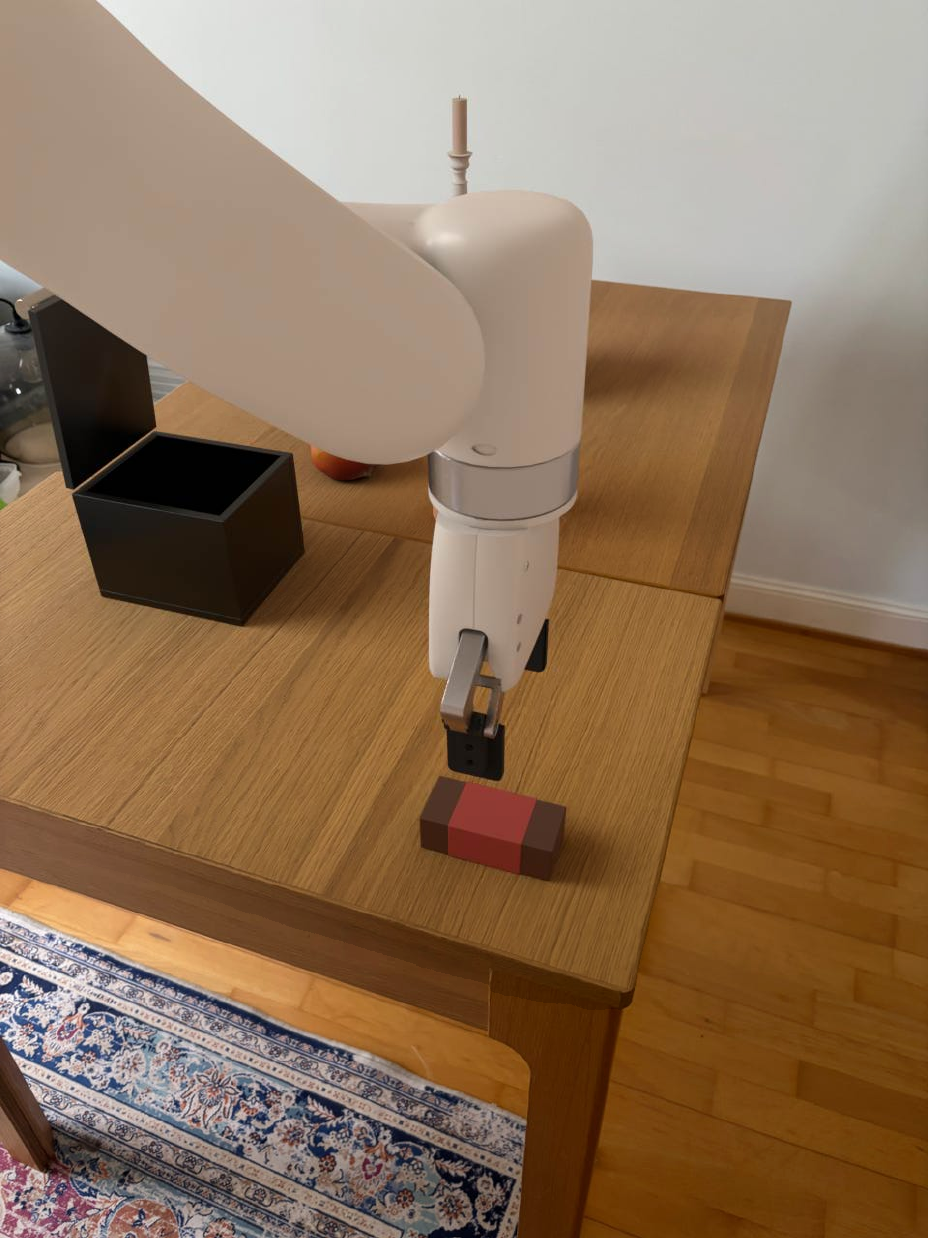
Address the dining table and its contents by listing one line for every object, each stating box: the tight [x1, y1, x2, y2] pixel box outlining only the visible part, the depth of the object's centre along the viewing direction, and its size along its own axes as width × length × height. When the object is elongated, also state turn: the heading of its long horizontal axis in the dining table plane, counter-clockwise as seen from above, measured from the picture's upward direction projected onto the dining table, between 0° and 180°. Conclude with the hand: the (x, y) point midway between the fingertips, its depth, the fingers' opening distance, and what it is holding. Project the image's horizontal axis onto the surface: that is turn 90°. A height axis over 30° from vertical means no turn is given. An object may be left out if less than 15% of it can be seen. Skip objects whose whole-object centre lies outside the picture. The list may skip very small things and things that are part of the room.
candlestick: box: [446, 94, 474, 199], centre depth 135 cm, size 13×13×30 cm
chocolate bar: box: [419, 775, 567, 882], centre depth 63 cm, size 9×4×3 cm, turn 72°
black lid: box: [14, 287, 158, 491], centre depth 80 cm, size 15×13×5 cm
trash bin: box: [71, 430, 306, 627], centre depth 86 cm, size 15×13×11 cm
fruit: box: [308, 444, 376, 481], centre depth 104 cm, size 8×8×8 cm
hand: (500, 716), depth 57 cm, fingers open, 9 cm apart
